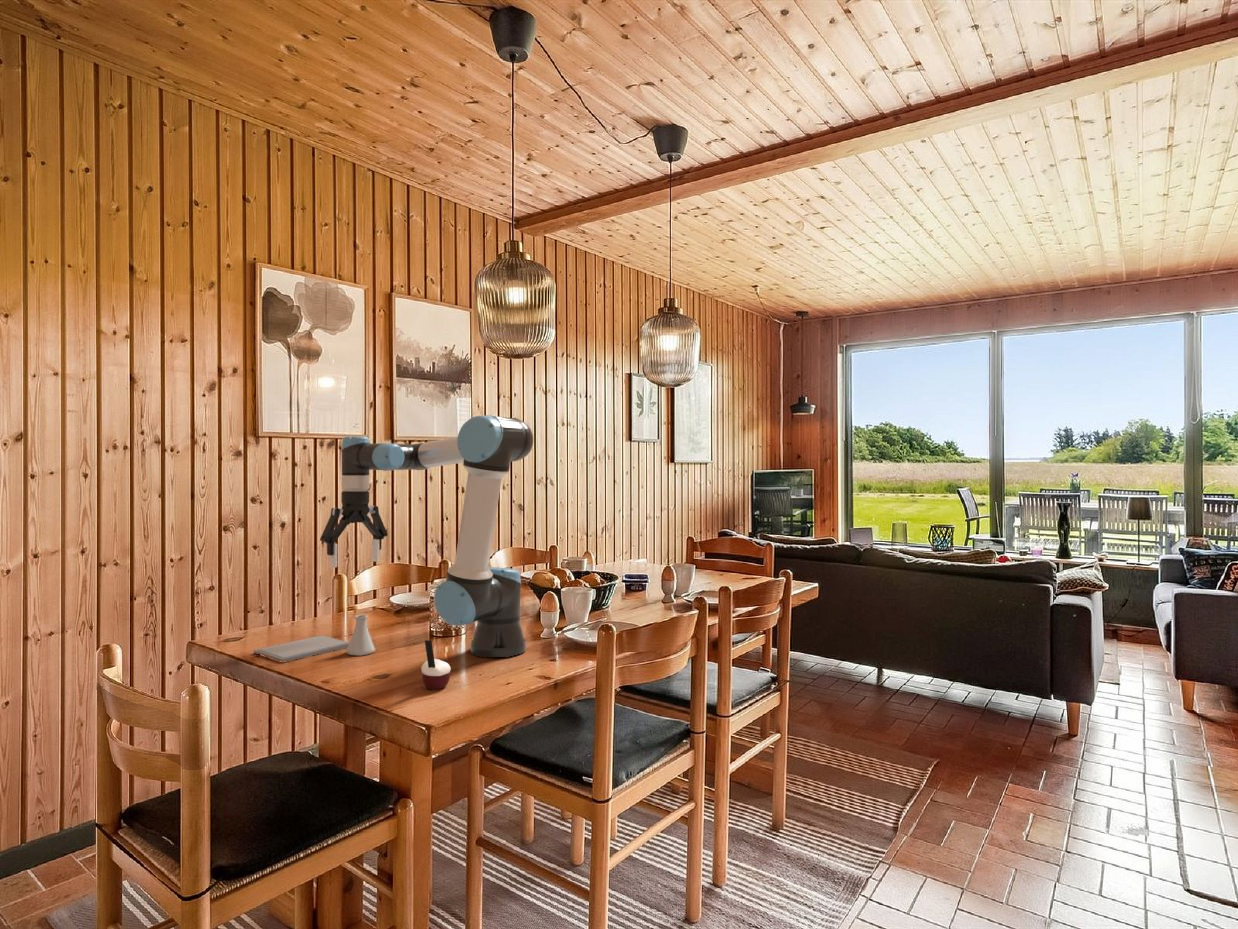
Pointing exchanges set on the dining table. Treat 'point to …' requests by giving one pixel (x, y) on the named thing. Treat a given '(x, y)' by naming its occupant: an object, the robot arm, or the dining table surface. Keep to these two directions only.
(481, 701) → the dining table surface
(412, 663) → the dining table surface
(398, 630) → the dining table surface
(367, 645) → the flask
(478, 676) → the dining table surface
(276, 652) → the slate board
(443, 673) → the cocoa
